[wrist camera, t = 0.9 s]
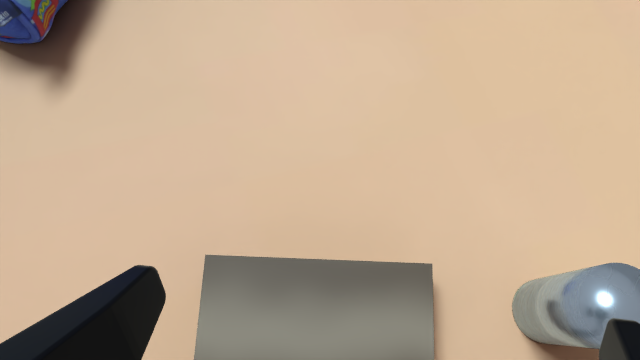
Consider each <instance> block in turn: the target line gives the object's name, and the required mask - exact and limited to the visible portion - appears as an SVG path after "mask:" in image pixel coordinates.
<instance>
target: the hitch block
mask: <svg viewBox="0 0 640 360" xmlns="http://www.w3.org/2000/svg"><path fill="white" fill-rule="evenodd" d="M194 360H434V325H433V279H432V264H424V263H399V262H373V261H348V260H322V259H297V258H272V257H246V256H221V255H205V264H204V273H203V282H202V291H201V300H200V310H199V319H198V328H197V337H196V346H195V355H194Z"/></svg>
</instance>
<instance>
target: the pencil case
mask: <svg viewBox="0 0 640 360" xmlns="http://www.w3.org/2000/svg"><path fill="white" fill-rule="evenodd" d="M67 1H68V0H0V41H4V42H9V43H16V44H23V43H34V42H40V41H42V40H43V38H44V37H45V36H46V35H47V33H48V32H49V30H50V28H51V26H52V23H53V19H54V16H55V15H56V13H57V12H58V11H59V9H60V8H61V7H62V6H63V5H64V4H65V3H66V2H67Z"/></svg>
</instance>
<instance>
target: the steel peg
mask: <svg viewBox="0 0 640 360" xmlns="http://www.w3.org/2000/svg"><path fill="white" fill-rule="evenodd" d="M512 312H513V316H514V320H515V322H516V324H517V326H518V327H519V329H520V330H521V331H522V332H523V333H524V334H525V335H526V336H527V337H529V338H530V339H532V340H534V341H536V342H539V343H544V344H554V345H564V346H574V347H584V348H594V349H600V346H601V343H602V339H603V336H604V332H605V329H606V326H607V323H608V321H609V320H610V319H612V318H617V319H626V320H634V321H637V322H638V323H640V269H638V268H635V267H633V266H630V265H627V264H623V263H608V264H603V265H598V266H594V267H589V268H585V269H580V270H576V271H571V272H566V273H562V274H557V275H553V276H548V277H544V278H539V279H535V280H531V281H528V282H526V283H525V284H523V285H522V286H521V287H520V288H519V289H518V290H517V292H516V293H515V296H514V298H513V303H512Z"/></svg>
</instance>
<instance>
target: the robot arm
mask: <svg viewBox="0 0 640 360" xmlns="http://www.w3.org/2000/svg"><path fill="white" fill-rule="evenodd" d="M165 299H166V294H165V290H164V287H163V285H162V282H161V279H160V277H159V274H158V271H157V270H156V269H155V268H154V267H152V266H144V265H137V266H134V267H132V268H130V269H129V270H127V271H125V272H124V273H122V274H120V275H118V276H117V277H115V278H113V279H111V280H110V281H108V282H106V283H105V284H103V285H101V286H99V287H98V288H96V289H94V290H92V291H91V292H89V293H87V294H85V295H84V296H82V297H80V298H79V299H77V300H75V301H73V302H72V303H70V304H68V305H66V306H65V307H63V308H61V309H60V310H58V311H56V312H54V313H53V314H51V315H49V316H47V317H46V318H44V319H42V320H40V321H39V322H37V323H35V324H34V325H32V326H30V327H28V328H27V329H25V330H23V331H21V332H20V333H18V334H16V335H15V336H13V337H11V338H9V339H8V340H6V341H4V342H2V343H1V344H0V360H141V359H142V356H143V354H144V352H145V349H146V347H147V345H148V342H149V340H150V337H151V335H152V333H153V330H154V328H155V325H156V323H157V321H158V318H159V316H160V313H161V311H162V309H163V306H164V304H165ZM599 360H640V323H638V322H637V321H634V320H626V319H617V318H612V319H610V320H609V321H608V323H607V326H606V329H605V332H604V336H603V339H602V343H601V346H600V350H599Z"/></svg>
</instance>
